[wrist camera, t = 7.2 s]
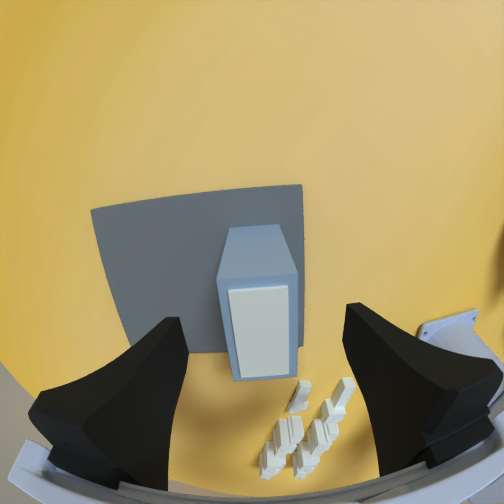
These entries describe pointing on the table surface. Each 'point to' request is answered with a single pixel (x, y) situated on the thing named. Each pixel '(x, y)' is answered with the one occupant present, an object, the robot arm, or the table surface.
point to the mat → (188, 256)
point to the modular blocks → (293, 433)
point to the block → (259, 303)
